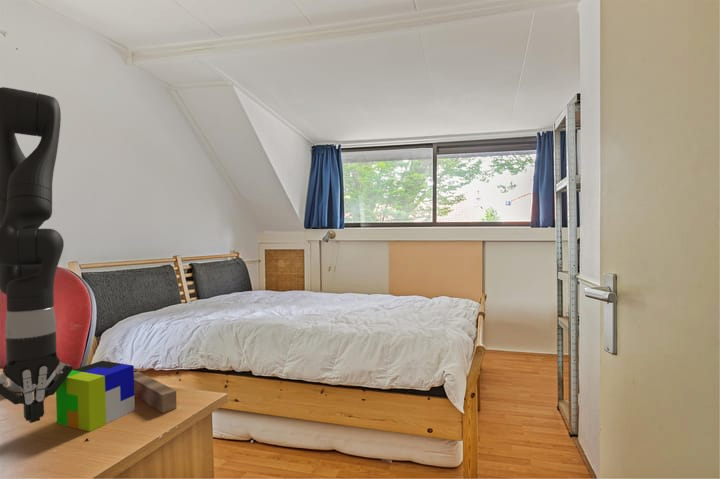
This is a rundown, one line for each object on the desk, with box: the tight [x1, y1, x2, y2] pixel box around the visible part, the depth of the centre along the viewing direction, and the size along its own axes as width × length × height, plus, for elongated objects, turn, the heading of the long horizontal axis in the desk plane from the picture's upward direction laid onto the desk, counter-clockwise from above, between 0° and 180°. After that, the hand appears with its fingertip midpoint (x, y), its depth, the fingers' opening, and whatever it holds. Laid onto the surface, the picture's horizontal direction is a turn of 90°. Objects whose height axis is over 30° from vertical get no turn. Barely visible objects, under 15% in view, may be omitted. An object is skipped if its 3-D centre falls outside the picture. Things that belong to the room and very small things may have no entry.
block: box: [134, 371, 178, 414], centre depth 95 cm, size 20×3×4 cm, turn 51°
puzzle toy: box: [55, 360, 136, 432], centre depth 86 cm, size 10×10×10 cm
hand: (33, 420), depth 78 cm, fingers closed
